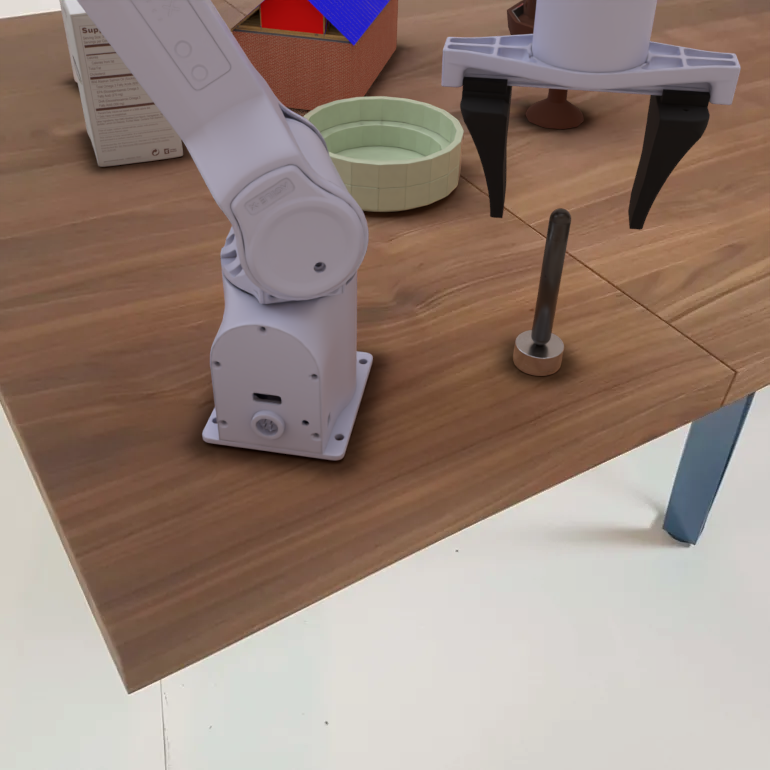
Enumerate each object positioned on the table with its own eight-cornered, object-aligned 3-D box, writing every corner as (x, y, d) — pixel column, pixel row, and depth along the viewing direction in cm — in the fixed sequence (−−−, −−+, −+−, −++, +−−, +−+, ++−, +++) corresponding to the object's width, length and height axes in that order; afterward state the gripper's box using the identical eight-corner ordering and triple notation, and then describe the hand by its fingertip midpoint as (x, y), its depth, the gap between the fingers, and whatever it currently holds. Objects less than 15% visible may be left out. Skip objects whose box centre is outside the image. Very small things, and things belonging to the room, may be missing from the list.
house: (233, 102, 88) (222, -27, 81) (296, 36, 103) (292, -77, 96) (353, 116, 86) (354, -14, 79) (400, 47, 101) (404, -68, 94)
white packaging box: (86, 134, 81) (57, -15, 74) (169, 124, 84) (150, -22, 76) (96, 169, 76) (67, 13, 68) (185, 158, 78) (166, 4, 70)
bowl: (449, 226, 70) (453, 172, 68) (282, 208, 72) (279, 154, 69) (466, 153, 80) (470, 104, 78) (319, 139, 82) (319, 90, 79)
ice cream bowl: (613, 146, 82) (647, -31, 73) (489, 133, 84) (507, -42, 75) (614, 102, 91) (645, -62, 81) (501, 91, 92) (519, -72, 83)
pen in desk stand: (560, 379, 56) (589, 225, 49) (511, 372, 56) (533, 219, 50) (561, 350, 58) (589, 199, 52) (514, 344, 59) (535, 194, 52)
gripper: (750, -58, 45) (691, 192, 54) (457, -71, 47) (445, 173, 56) (772, -16, 40) (703, 254, 48) (441, -32, 42) (431, 230, 50)
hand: (565, 215), depth 52 cm, fingers open, 7 cm apart
